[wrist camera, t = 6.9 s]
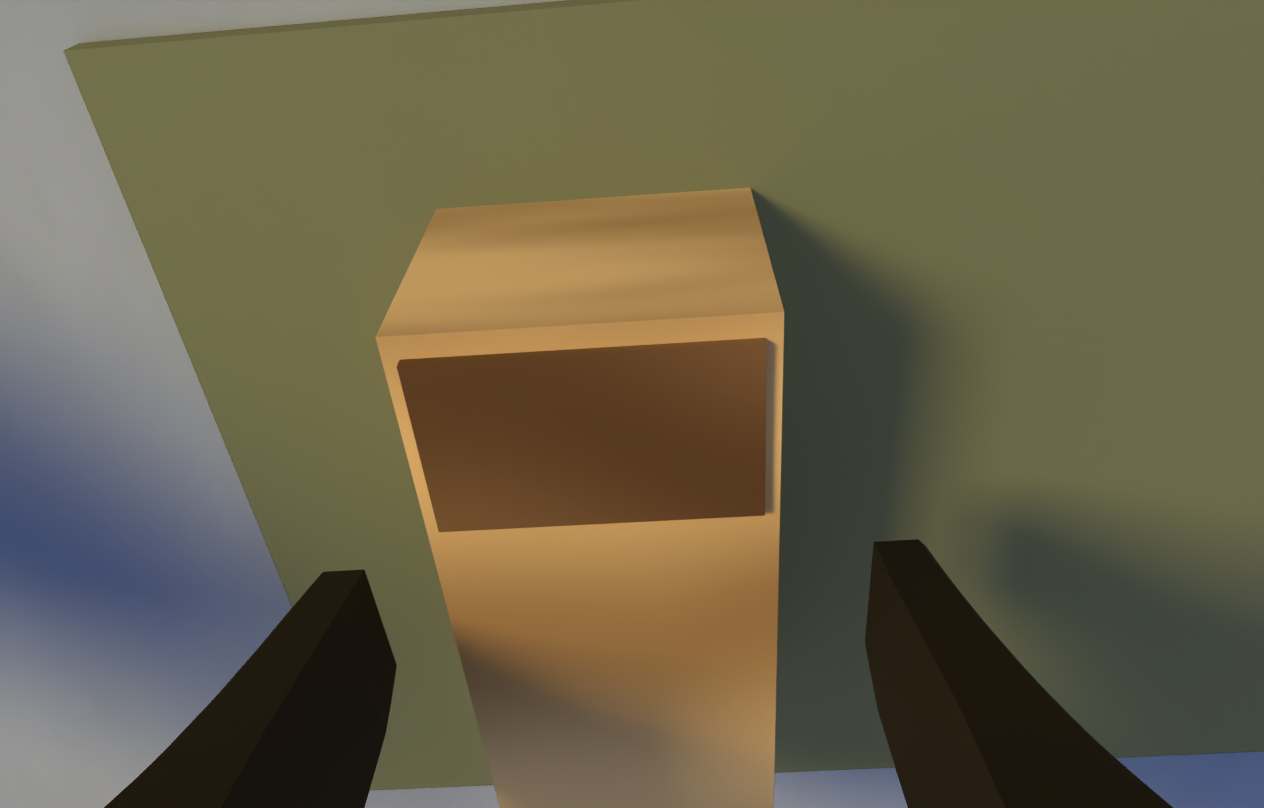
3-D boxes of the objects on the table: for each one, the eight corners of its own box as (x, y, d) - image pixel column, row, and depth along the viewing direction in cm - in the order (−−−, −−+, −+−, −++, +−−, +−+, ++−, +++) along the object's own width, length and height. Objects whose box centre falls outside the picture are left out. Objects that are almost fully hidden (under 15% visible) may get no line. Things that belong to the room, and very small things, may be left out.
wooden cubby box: (751, 668, 18) (773, 849, 15) (531, 677, 19) (509, 858, 15) (750, 187, 13) (786, 318, 10) (436, 208, 13) (371, 344, 10)
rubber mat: (2043, -130, 11) (2086, -127, 11) (1467, 725, 20) (1481, 741, 19) (78, 43, 12) (63, 51, 12) (371, 774, 21) (366, 790, 21)
